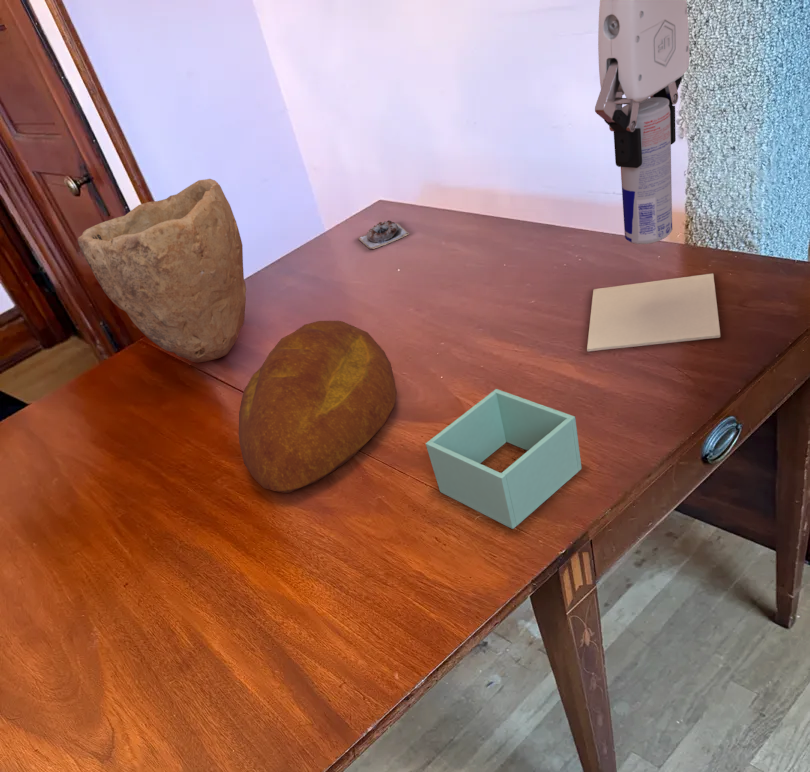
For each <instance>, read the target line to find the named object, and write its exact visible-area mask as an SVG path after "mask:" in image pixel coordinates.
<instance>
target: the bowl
mask: <svg viewBox="0 0 810 772" xmlns="http://www.w3.org/2000/svg"><path fill="white" fill-rule="evenodd" d="M77 244H78V246H79V248H80V251H81V253H82V256H83V257H84V259H85V260H86V263H87V265H88V266H89V268H90V269H91V271H92V273H93V275H94V277H95V279H96V281H97V282H98V284H99V286H100V287H101V289H102V290H103V292H104V294H105V295H106V296H107V298H108V299H109V300H110V301H111V302H112V303H113V304H114V305H115V306H116V307H117V308H118V309H120V310H122V311H124V312H125V313H126V314H127V316H128V318H129V319H130V320H131V322H132V323H133V325H135V326H136V327H137V329H138V330H139V331H140V332H141V333H142V334H143V335H144V336H145V337H146V338H147V339H148V340H149V341H151V342H152V343H154V344H155V345H156V346H158V347H159V348H161V349H163V350H164V351H166V352H170V353H174V354H175V355H176V356H177V357H179V358H183V359H186V360H188V361H190V362H193V363H195V364H196V363H197V364H198V363H205V362H210V361H213V360H217V359H220V358H222V357H225V356H226V355H228V354H229V353H230V352H231V349H232V348H233V347H234V345H235V344H236V342H237V340H238V337H239V334H240V332H241V330H242V327H243V325H244V324H245V318H246V317H245V316H246V307H247V296H246V293H247V285H246V281H245V277H244V276H245V274H244V252H243V241H242V238H241V234H240V231H239V227H238V223H237V220H236V218H235V215H234V212H233V210H232V207H231V204H230V202H229V200H228V198H227V197H226V194H225V192H224V191H223V188H222V187H221V184H219V183H218V182H217V181H216V180H215V179H212V178H207V179H206V178H205V179H199V180H197V181H195V182H193V183H192V184H190V185H188V186H187V187H185V188H183V189H182V190H181V191H179V192H177V193H176V194H173V195H169V196H168V197H166V198H164V199H160V200H154V201H153V200H152V201H147V202H144V203H141V204H138V205H137V206H135V207H134V208H132V209H131V210H129V212H127V213H126V214H125V215H122V216H118V217H115V218H112V219H109V220H105V221H103V222H100V223H98V224H95V225H92V226H90V227H88V228H86V229H85V230H83V232H82V234H81V235H80V236H78V237H77Z"/></svg>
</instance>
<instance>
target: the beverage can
mask: <svg viewBox="0 0 810 772" xmlns="http://www.w3.org/2000/svg"><path fill="white" fill-rule="evenodd" d="M668 105H669V100H668V99H667V98H663V97H653V98H650V97H649V98H647V99H646V100H644V101H641V102H640V104H639V111H638V119H637V126H636V128H640V129H641V149H642V165H641V166H639V167H638V168H629V167H620V181H621V182H620V183H621V195H622V196H621V197H622V212H623V213H622V214H623V231H624V238H625V240H626V241H627V242H630V243H631V244H635V245H650V244H654V243H657V242H660V241H662V240H664V239H666V238H667V237H669V235H670V234H671V233H672V232H673V197H672V196H673V195H672V192H673V189H672V186H673V185H672V145H671V130H670V108H669V106H668ZM628 107H629V104H624V106H622V111H623V112H624V113H625V114H626V115H628Z"/></svg>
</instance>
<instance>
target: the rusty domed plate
mask: <svg viewBox="0 0 810 772" xmlns="http://www.w3.org/2000/svg"><path fill="white" fill-rule="evenodd" d="M408 235H410V233H409V232H408V231H407V230H406V229H405V228H404V227H403V226H401V224H399V222H397V223H395V222H394V221H392V220H387V221H385V220H384V221H379V222H378V223H376V224H375V225H373V226H372V227H371V228H369V229H368V230H367V233H366V234H365V235H362V236H360V237H358V240H359V241H360V242H361V243H362V244H363V245H364V246H366V248H367V249H369V250H370V249H372V250H375V249H377V248H380V247H382V246H386V245H388V244H392V243H394V242H395V241H398V240H400V239H401V240H402V239H403V238H405V237H406V236H408Z"/></svg>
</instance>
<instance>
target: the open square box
mask: <svg viewBox="0 0 810 772" xmlns="http://www.w3.org/2000/svg"><path fill="white" fill-rule="evenodd" d="M506 443H508V444H510V445H513V446H515V447H517V448H520V449H522V450H524V451H526V452H525V453H523V454H522V455H521V456H520V457H518V458H517V459H516V460H515V461H514V462H512V463H511V464H510V465H509V466H508V467H507V468H506V469H504V470H503V471H502V472H499V471H498V470H496V469H493V468H490V467H488V466H487V465H484V464H482V463H483V462H484V461H485V460H486V459H488V458H489V457H490V456H491V455H493V454H494V453H495V452H496V451H497V450H499V449H500V448H501V447H503V446H504V445H505V444H506ZM425 447H426V451H427V452H428V453H427V454H428V457H429V461H430V463H431V466H432V469H433V473H434V477H435V480H436V484H437V487H438V490H439V492H440V493H441V494H443V495H445V496H447V497H449V498H451V499H452V500H455V501H457V502H459V503H461V504H463V505H465V506H466V507H469V508H470V509H473V510H474V511H476V512H478V513H480V514H482V515H484V516H486V517H488V518H490V519H492V520H494V521H496V522H498V523H499V524H502V525H504V526H505V527H507V528H510V529H512V530H514V529H515V528H516V527H518V526H519V525H520V524H521V523H522V522H523V521H524V520H525V519H527V518H528V517H529V516H530V515H531V514H532V513H533V512H535V511H536V510H537V509H538V508H539V507H540V506H542V505H543V503H545V502H546V501H547V500H549V498H550V497H551V496H553V495H554V494H555V493H556V492H558V490H560V489H561V488H562V487H563V486H564V485H565V484H566V483H567V482H569V481H570V480H571V479H572V478H573V477H574V476H575V475H577V474H578V473H579V472H580V471H581V470H582V460H581V452H580V451H581V450H580V444H579V437H578V429H577V421H576V416H574V415H571V414H569V413H566V412H563V411H561V410H557V409H555V408H552V407H550V406H546V405H543V404H541V403H538V402H536V401H532V400H529V399H526V398H524V397H521V396H518V395H515V394H512V393H510V392H507V391H503V390H502V389H501V390H500V389H498V388H494V390H492V391H491V392H490V393H488V394H487V395H486V396H485V397H483V398H482V399H481V400H480V401H478V402H477V403H476V404H475V405H473V406H472V407H471V408H469V409H468V410H467V411H465V412H464V413H462V415H460V416H459V417H458V418H457V419H455V420H454V421H452V422H451V423H450V424H449V425H447V426H446V427H444V429H442V430H441V431H439V433H437V434H436V435H434V436H433V437H432V438H430V440H428V441H426V442H425Z"/></svg>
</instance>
